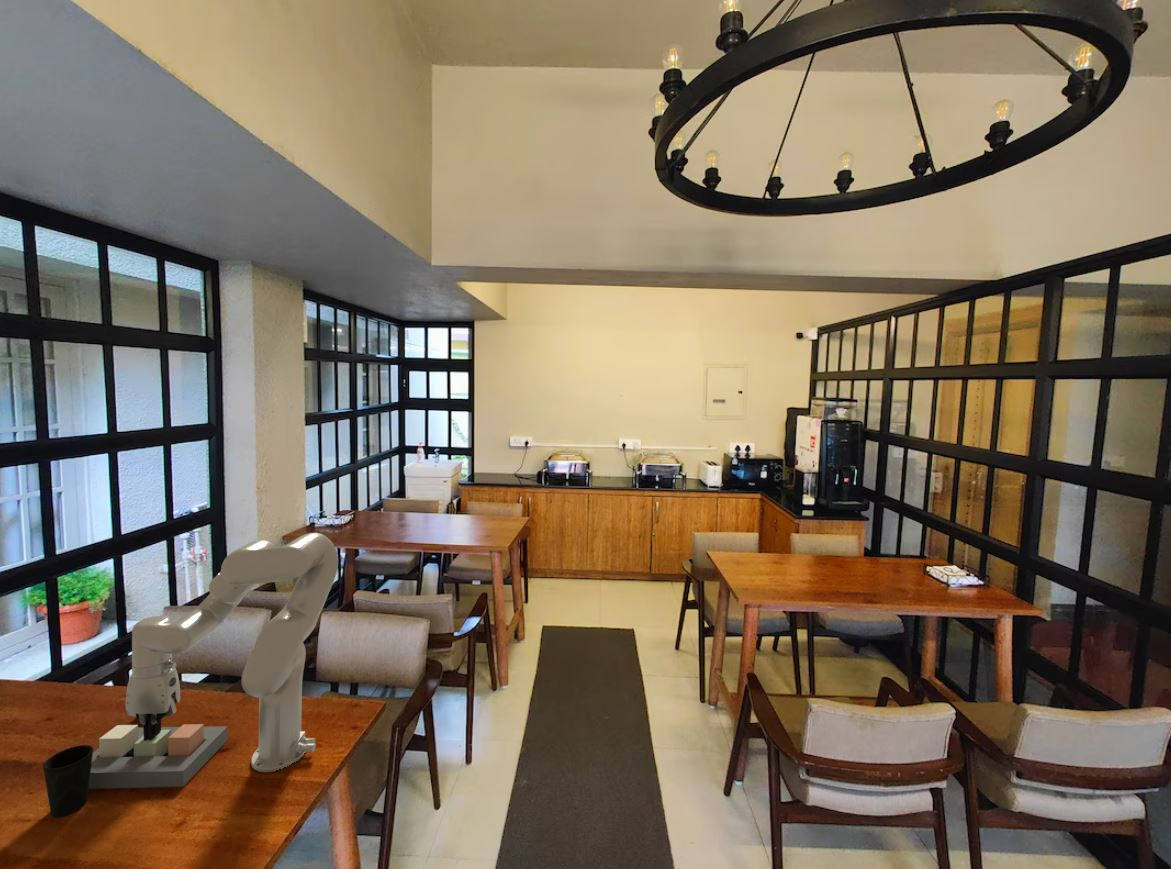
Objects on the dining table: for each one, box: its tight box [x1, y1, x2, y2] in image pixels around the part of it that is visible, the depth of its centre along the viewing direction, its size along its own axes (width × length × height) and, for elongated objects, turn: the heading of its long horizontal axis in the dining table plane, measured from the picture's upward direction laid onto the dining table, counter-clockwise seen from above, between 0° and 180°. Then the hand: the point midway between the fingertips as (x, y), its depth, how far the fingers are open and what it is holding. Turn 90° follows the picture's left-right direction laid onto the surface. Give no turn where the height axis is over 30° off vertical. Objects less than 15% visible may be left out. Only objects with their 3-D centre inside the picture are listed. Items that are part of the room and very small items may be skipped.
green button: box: [133, 730, 171, 757], centre depth 121 cm, size 5×5×5 cm
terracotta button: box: [167, 723, 205, 756], centre depth 121 cm, size 5×5×5 cm
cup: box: [42, 744, 94, 819], centre depth 107 cm, size 8×8×12 cm
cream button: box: [98, 724, 139, 757], centre depth 120 cm, size 5×5×5 cm
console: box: [88, 725, 229, 790], centre depth 121 cm, size 26×16×4 cm, turn 95°
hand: (152, 736), depth 121 cm, fingers closed
